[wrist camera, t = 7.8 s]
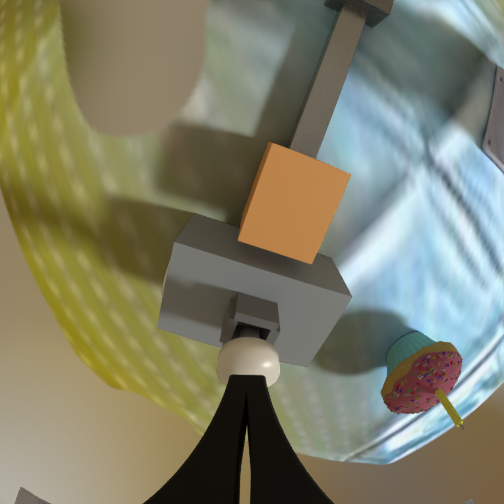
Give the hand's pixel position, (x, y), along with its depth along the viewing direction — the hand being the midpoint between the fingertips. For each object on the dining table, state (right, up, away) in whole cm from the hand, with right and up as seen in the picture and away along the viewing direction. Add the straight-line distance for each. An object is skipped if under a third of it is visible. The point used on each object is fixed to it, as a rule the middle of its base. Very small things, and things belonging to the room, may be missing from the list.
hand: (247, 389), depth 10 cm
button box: (0, +4, +9) cm, 10 cm away
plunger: (0, +1, +4) cm, 4 cm away
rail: (+4, +14, +5) cm, 16 cm away
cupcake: (+16, -4, +13) cm, 21 cm away
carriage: (+2, +10, +7) cm, 12 cm away
